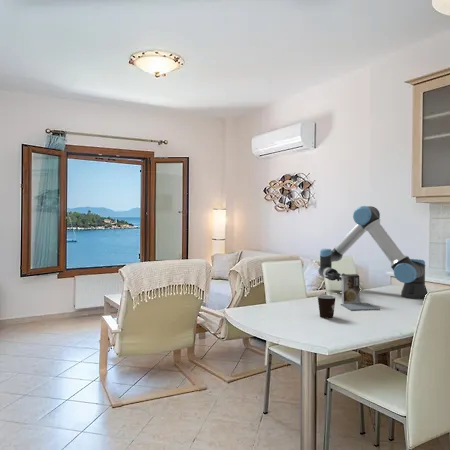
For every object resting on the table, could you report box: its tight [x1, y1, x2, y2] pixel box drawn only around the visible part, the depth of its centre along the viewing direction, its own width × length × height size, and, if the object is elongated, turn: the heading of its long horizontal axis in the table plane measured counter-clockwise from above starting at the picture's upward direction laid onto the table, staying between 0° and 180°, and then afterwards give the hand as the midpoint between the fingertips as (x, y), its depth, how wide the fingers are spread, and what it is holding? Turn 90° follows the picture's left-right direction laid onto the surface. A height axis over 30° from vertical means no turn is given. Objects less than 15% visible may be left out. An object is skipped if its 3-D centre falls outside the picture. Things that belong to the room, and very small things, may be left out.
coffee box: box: [341, 273, 361, 304], centre depth 243 cm, size 9×6×16 cm
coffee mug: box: [317, 294, 337, 319], centre depth 209 cm, size 12×9×10 cm
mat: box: [340, 302, 381, 312], centre depth 230 cm, size 16×14×1 cm
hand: (344, 279), depth 251 cm, fingers closed
